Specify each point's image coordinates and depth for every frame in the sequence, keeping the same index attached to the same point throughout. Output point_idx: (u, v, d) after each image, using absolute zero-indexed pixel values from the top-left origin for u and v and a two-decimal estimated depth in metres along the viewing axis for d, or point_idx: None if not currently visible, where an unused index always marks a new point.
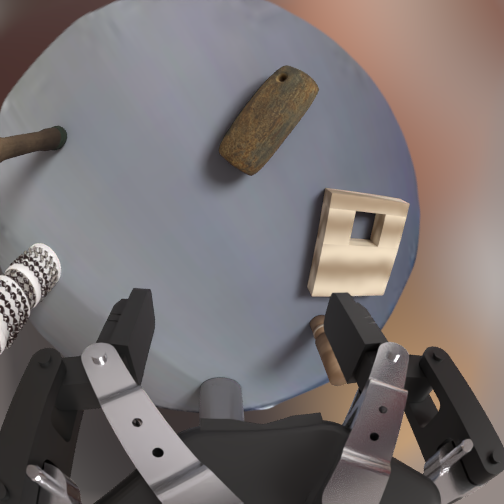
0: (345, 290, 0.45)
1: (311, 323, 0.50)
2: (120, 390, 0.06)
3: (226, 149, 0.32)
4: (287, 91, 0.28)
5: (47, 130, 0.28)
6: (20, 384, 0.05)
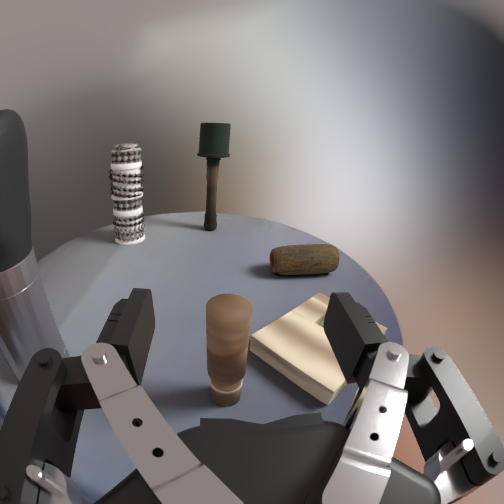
0: (288, 353, 0.35)
1: None
2: (120, 390, 0.06)
3: None
4: (321, 244, 0.60)
5: None
6: (20, 384, 0.05)
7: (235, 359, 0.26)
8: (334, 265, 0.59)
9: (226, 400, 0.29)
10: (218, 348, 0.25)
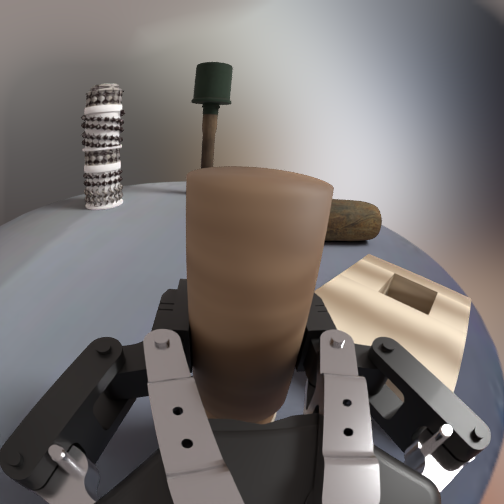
0: (355, 343, 0.17)
1: None
2: (173, 377, 0.07)
3: None
4: None
5: None
6: (71, 366, 0.06)
7: (276, 355, 0.08)
8: (375, 229, 0.41)
9: None
10: (224, 320, 0.08)
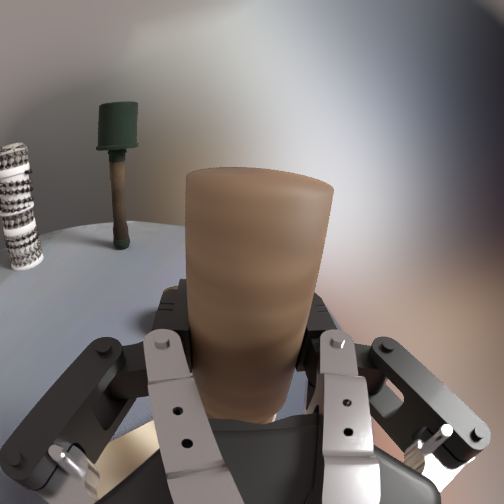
0: None
1: None
2: (172, 377, 0.07)
3: None
4: None
5: None
6: (71, 366, 0.06)
7: (276, 356, 0.08)
8: None
9: None
10: (224, 322, 0.08)
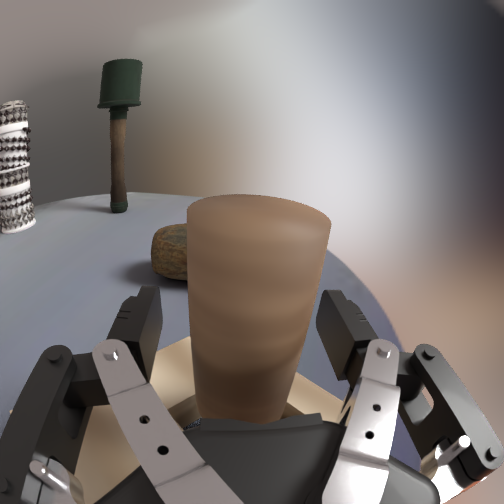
0: None
1: None
2: (129, 387, 0.06)
3: None
4: None
5: (125, 188, 0.50)
6: (29, 380, 0.05)
7: (273, 378, 0.09)
8: None
9: None
10: (224, 350, 0.08)
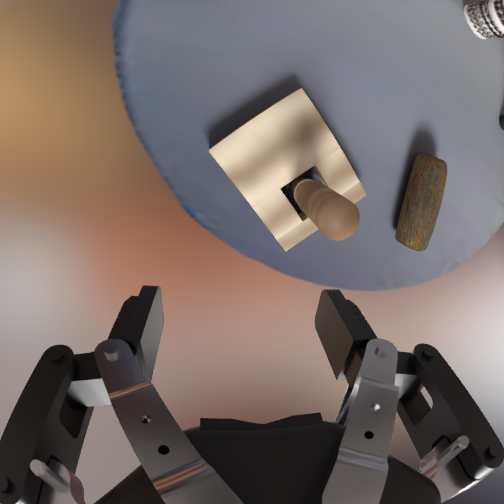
0: (268, 119, 0.31)
1: None
2: (131, 386, 0.06)
3: None
4: (430, 232, 0.36)
5: None
6: (30, 379, 0.05)
7: (305, 211, 0.30)
8: (398, 234, 0.40)
9: (292, 190, 0.37)
10: (311, 199, 0.28)
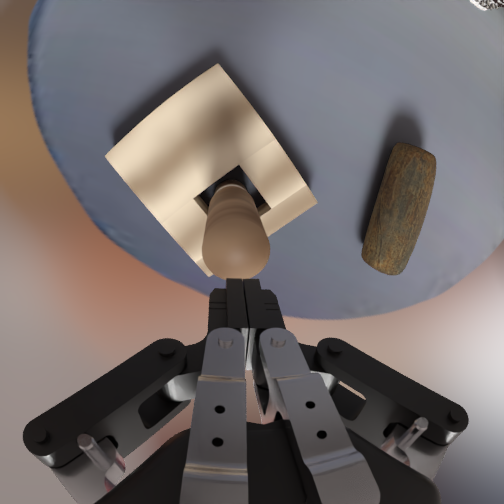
0: (173, 108, 0.23)
1: None
2: (226, 376, 0.07)
3: None
4: (409, 251, 0.28)
5: None
6: (127, 361, 0.07)
7: None
8: (364, 251, 0.31)
9: None
10: (208, 217, 0.20)
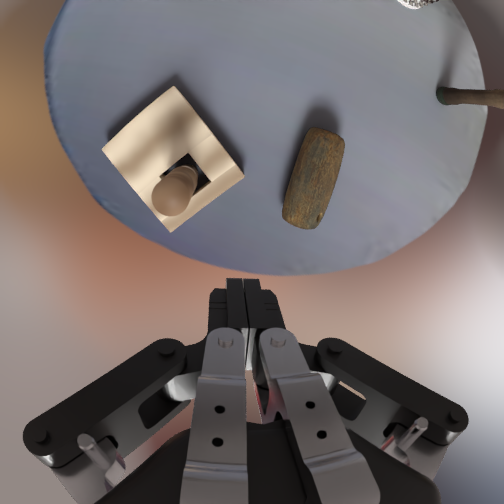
0: (145, 117, 0.34)
1: (196, 170, 0.40)
2: (226, 376, 0.07)
3: (342, 145, 0.37)
4: (315, 208, 0.39)
5: (457, 104, 0.34)
6: (127, 361, 0.07)
7: None
8: (283, 210, 0.42)
9: None
10: None
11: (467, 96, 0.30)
